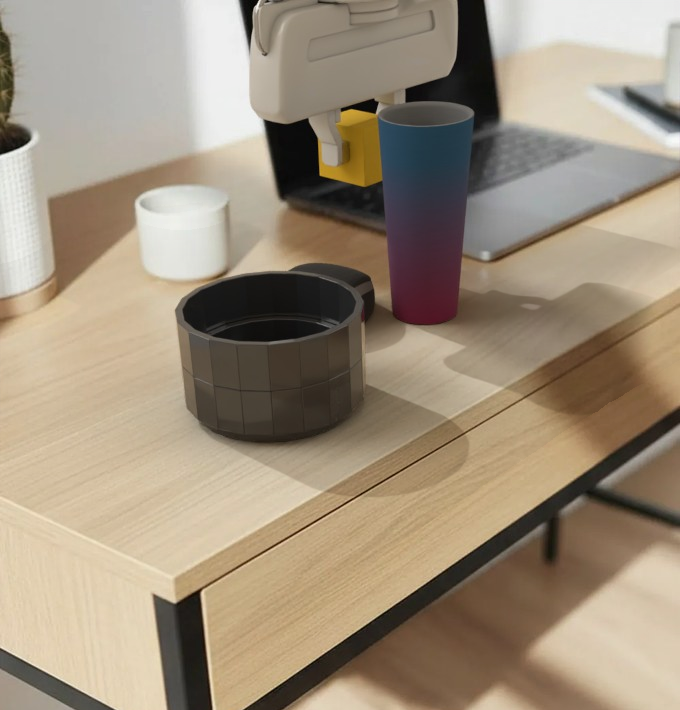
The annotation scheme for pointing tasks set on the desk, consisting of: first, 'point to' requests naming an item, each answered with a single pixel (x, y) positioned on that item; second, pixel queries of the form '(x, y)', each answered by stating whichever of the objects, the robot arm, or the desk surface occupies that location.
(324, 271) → the computer mouse
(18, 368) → the desk surface
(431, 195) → the cup
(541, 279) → the desk surface
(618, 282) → the desk surface
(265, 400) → the bowl
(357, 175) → the cube
